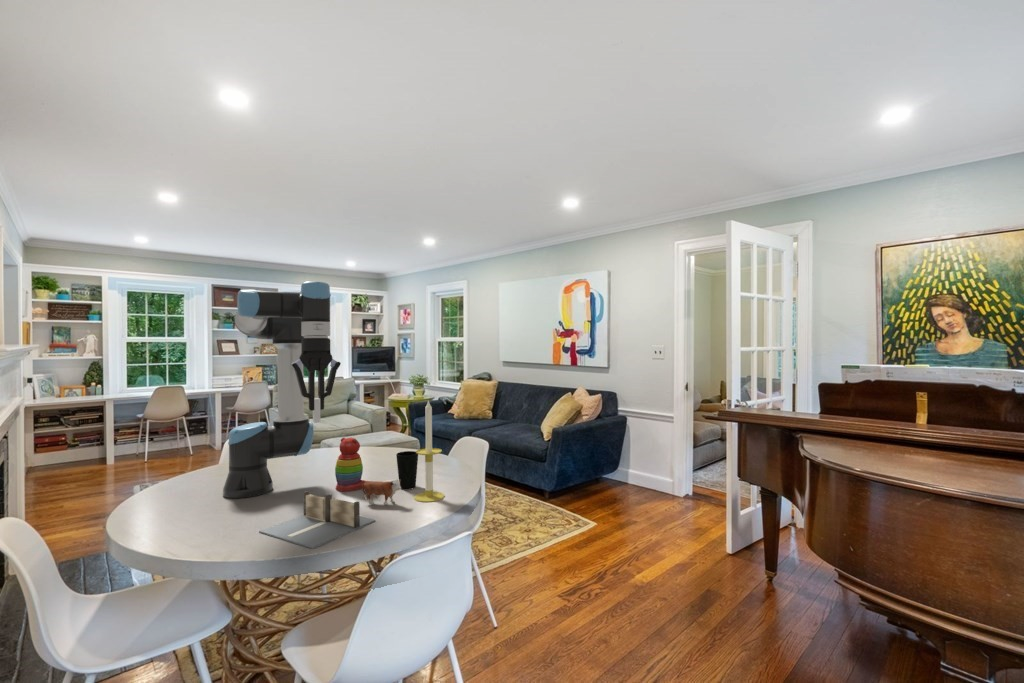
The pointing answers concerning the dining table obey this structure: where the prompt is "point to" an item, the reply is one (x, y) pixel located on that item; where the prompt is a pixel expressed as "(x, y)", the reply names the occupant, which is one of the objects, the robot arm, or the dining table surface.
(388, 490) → the bull figurine
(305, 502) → the fence fixed
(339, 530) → the card
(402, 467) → the cup
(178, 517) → the dining table surface
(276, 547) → the dining table surface
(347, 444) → the stacking bear
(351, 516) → the fence hinged
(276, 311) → the robot arm
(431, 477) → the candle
